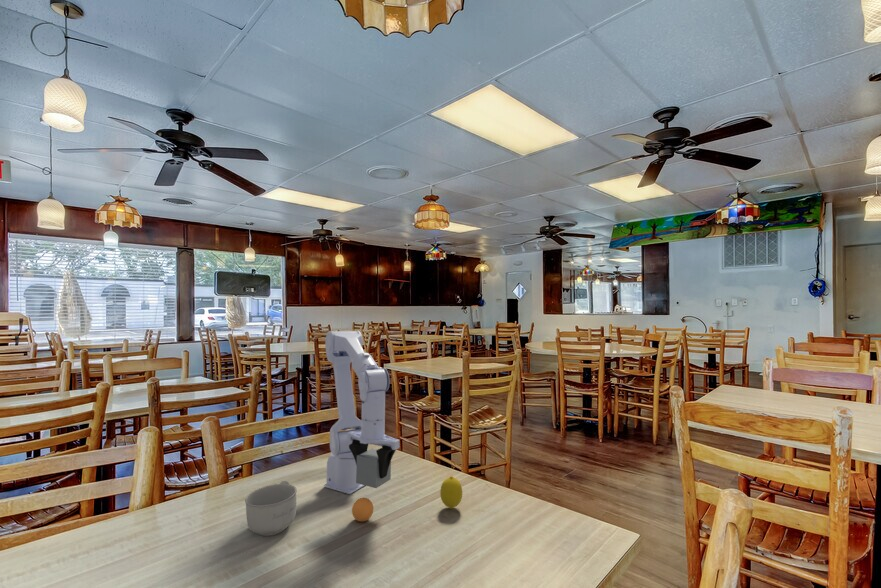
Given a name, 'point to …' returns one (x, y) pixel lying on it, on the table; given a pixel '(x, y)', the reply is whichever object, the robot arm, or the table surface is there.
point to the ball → (362, 509)
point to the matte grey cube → (370, 470)
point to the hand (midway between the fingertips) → (372, 474)
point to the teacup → (271, 508)
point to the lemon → (451, 492)
